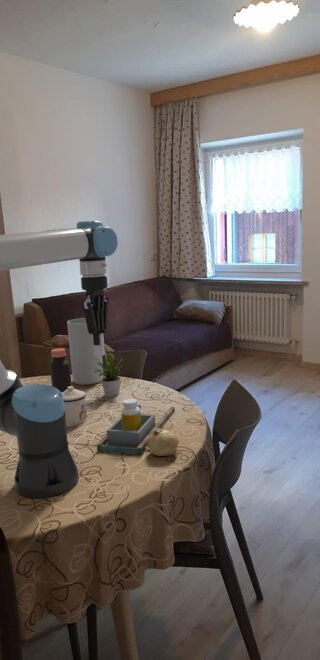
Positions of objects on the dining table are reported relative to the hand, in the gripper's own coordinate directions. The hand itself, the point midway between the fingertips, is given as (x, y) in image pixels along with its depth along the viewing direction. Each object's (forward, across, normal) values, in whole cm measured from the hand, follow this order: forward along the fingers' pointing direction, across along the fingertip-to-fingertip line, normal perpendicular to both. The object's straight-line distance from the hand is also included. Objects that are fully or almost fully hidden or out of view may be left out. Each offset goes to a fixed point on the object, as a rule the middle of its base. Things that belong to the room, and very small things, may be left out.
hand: (99, 355), depth 151 cm
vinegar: (+23, +17, +25) cm, 38 cm away
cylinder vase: (+23, +45, +30) cm, 59 cm away
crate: (+22, -4, -11) cm, 25 cm away
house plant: (+23, +30, +14) cm, 40 cm away
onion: (+24, -12, -24) cm, 35 cm away
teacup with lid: (+23, +4, +13) cm, 27 cm away
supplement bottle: (+22, -4, -11) cm, 25 cm away
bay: (+23, +1, -11) cm, 26 cm away
